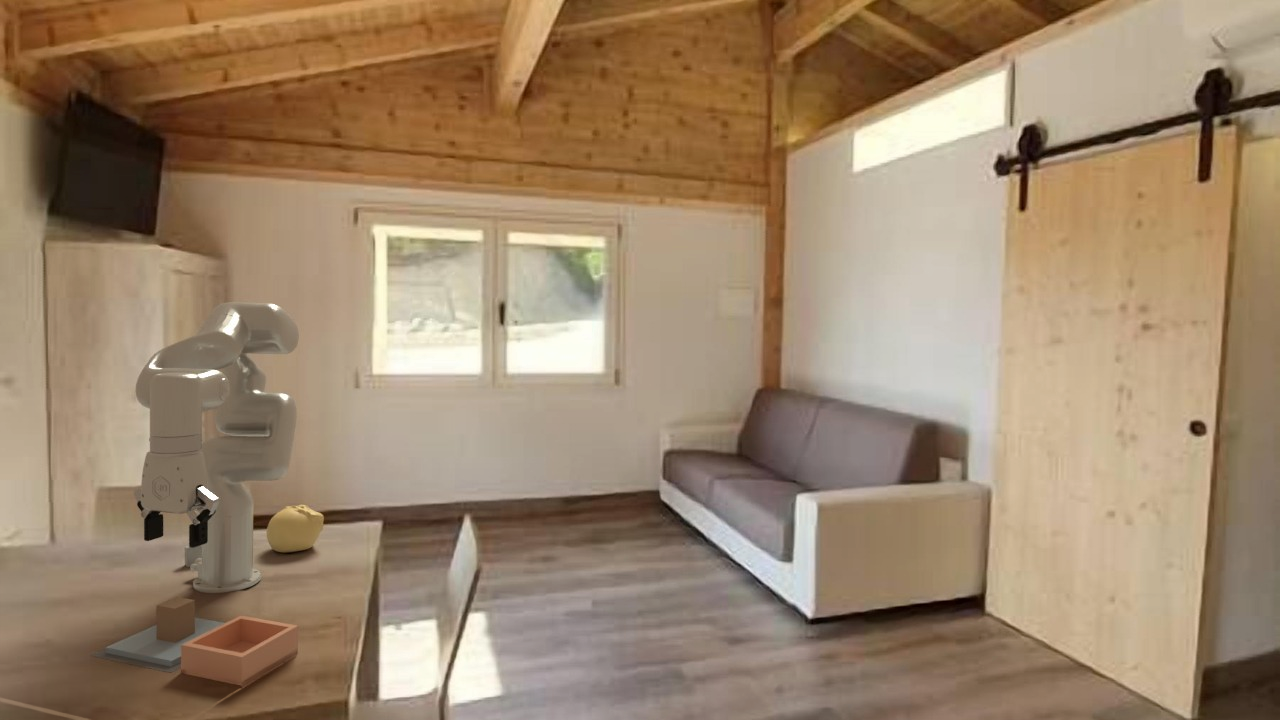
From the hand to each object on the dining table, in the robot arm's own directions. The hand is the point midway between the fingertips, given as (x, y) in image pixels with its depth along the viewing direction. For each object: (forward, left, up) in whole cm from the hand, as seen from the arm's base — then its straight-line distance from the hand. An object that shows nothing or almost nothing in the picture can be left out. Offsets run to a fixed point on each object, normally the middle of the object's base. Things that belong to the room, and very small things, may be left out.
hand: (175, 542), depth 124 cm
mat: (0, 0, -18) cm, 18 cm away
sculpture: (-17, +48, -19) cm, 54 cm away
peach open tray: (+16, -2, -18) cm, 24 cm away
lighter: (-29, +33, -19) cm, 48 cm away
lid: (0, 0, -18) cm, 18 cm away
